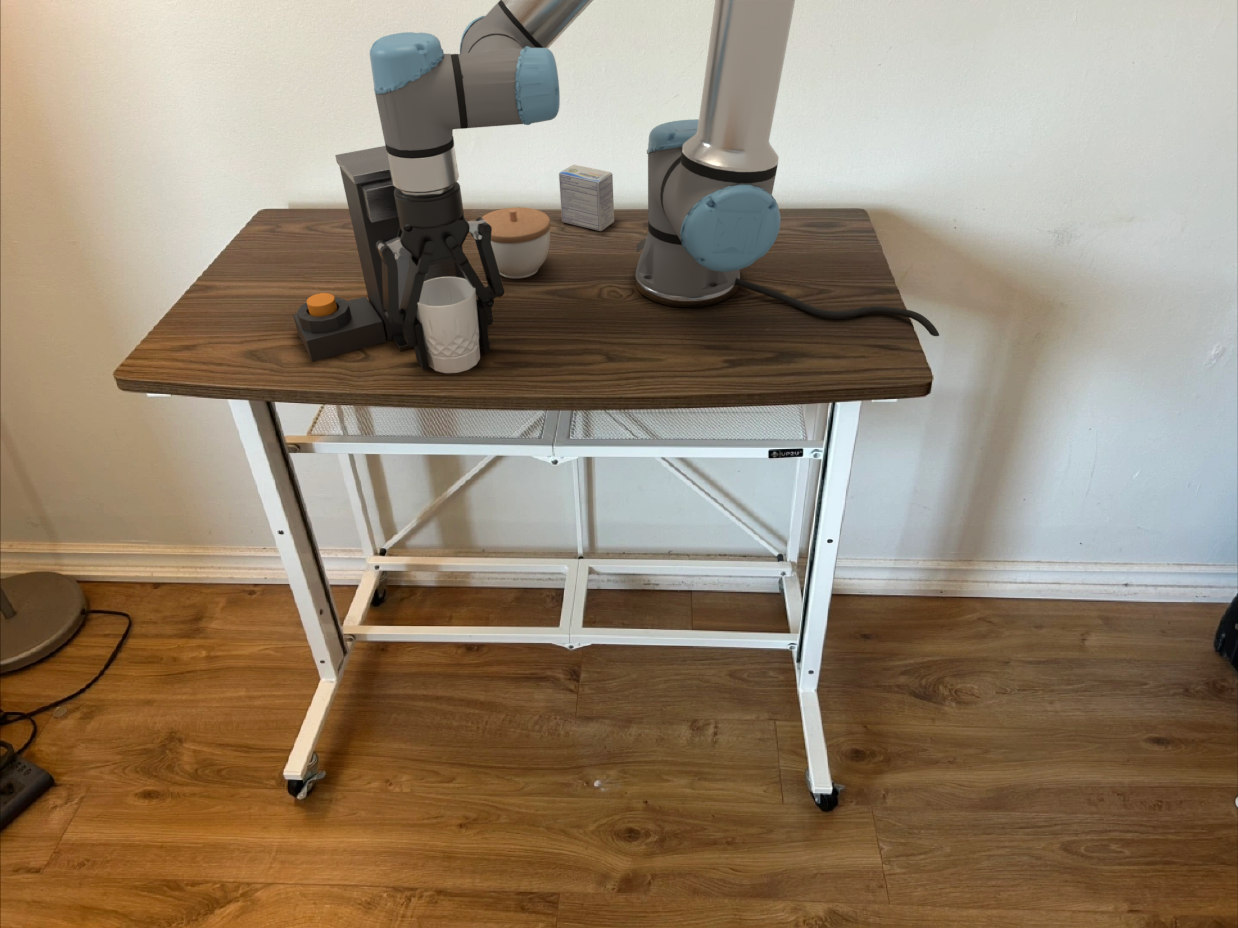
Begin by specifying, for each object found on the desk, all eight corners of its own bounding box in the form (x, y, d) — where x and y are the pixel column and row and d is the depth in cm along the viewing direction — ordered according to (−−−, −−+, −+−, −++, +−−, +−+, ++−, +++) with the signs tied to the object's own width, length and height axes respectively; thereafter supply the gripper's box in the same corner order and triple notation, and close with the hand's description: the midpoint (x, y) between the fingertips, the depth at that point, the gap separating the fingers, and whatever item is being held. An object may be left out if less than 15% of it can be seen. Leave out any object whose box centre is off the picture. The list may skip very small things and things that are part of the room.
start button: (333, 302, 119) (330, 290, 118) (340, 313, 117) (337, 301, 116) (306, 308, 118) (303, 296, 117) (313, 320, 115) (310, 308, 114)
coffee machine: (370, 315, 126) (334, 154, 111) (453, 294, 130) (429, 137, 116) (395, 353, 117) (360, 185, 103) (482, 329, 122) (461, 164, 108)
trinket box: (566, 263, 137) (563, 204, 131) (526, 291, 130) (521, 231, 124) (510, 248, 142) (504, 191, 136) (469, 275, 135) (460, 216, 129)
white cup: (473, 379, 112) (462, 309, 106) (414, 373, 114) (400, 303, 107) (492, 347, 118) (483, 278, 112) (436, 342, 120) (424, 274, 113)
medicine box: (615, 222, 149) (613, 171, 143) (600, 232, 146) (598, 181, 140) (576, 213, 152) (573, 163, 147) (561, 223, 149) (557, 172, 144)
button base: (370, 316, 125) (363, 284, 122) (386, 342, 120) (379, 308, 117) (298, 334, 122) (289, 302, 119) (312, 362, 116) (303, 328, 113)
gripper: (497, 157, 107) (515, 323, 122) (328, 191, 100) (368, 363, 114) (522, 177, 102) (537, 348, 117) (345, 214, 95) (385, 392, 109)
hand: (453, 355), depth 115 cm, fingers closed on white cup, 8 cm apart
